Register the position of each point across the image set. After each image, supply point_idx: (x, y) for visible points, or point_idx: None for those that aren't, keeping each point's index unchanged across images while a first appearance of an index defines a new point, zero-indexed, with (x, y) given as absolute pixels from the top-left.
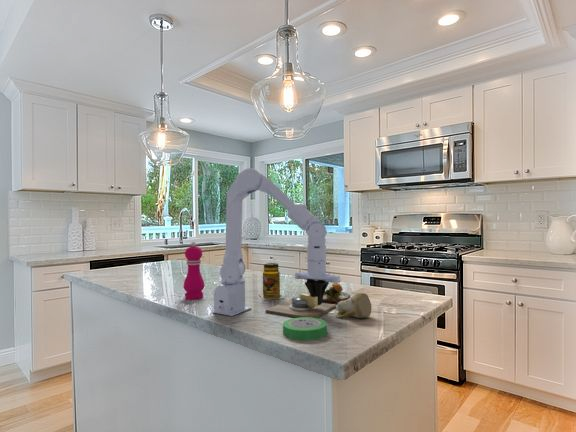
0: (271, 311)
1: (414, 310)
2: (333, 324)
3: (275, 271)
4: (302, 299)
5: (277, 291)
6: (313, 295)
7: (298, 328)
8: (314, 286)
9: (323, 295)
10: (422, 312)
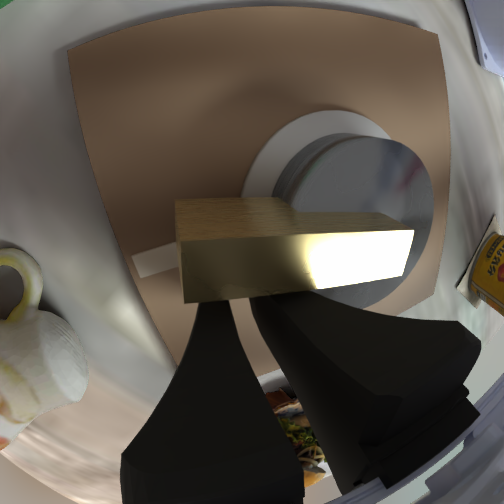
0: (408, 25)
1: (26, 460)
2: None
3: None
4: (354, 212)
5: (491, 281)
6: (278, 312)
7: None
8: (328, 412)
9: None
10: (5, 454)
